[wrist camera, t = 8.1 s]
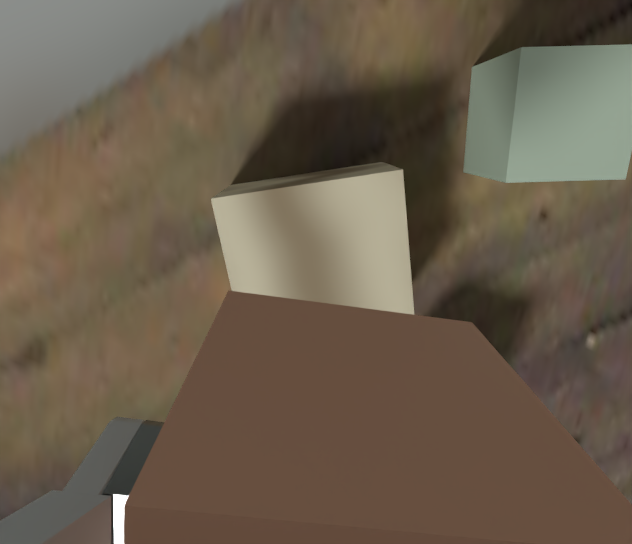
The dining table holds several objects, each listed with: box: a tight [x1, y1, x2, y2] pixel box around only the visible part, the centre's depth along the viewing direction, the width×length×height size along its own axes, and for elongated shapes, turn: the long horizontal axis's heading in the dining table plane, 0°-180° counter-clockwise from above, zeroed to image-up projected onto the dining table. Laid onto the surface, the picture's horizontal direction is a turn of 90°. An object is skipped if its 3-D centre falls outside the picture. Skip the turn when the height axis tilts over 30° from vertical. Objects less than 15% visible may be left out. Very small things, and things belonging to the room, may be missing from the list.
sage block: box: [463, 44, 632, 183], centre depth 19 cm, size 5×5×5 cm
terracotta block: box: [124, 291, 632, 544], centre depth 7 cm, size 5×5×5 cm
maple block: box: [211, 162, 414, 315], centre depth 21 cm, size 8×8×5 cm
